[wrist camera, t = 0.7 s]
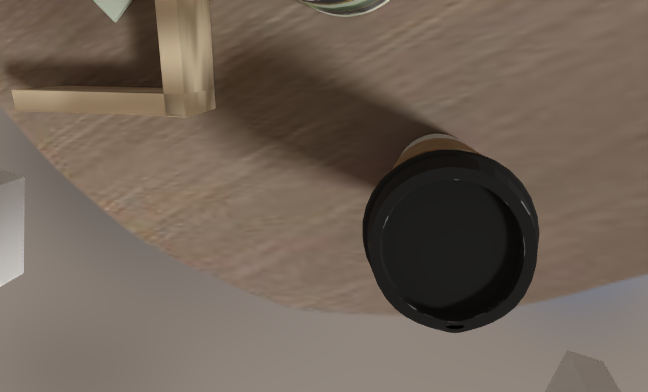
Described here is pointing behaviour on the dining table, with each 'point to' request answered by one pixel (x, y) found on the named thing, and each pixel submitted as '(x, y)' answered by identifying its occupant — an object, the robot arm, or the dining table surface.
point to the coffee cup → (451, 236)
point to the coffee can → (345, 6)
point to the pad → (113, 7)
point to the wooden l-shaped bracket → (176, 65)
